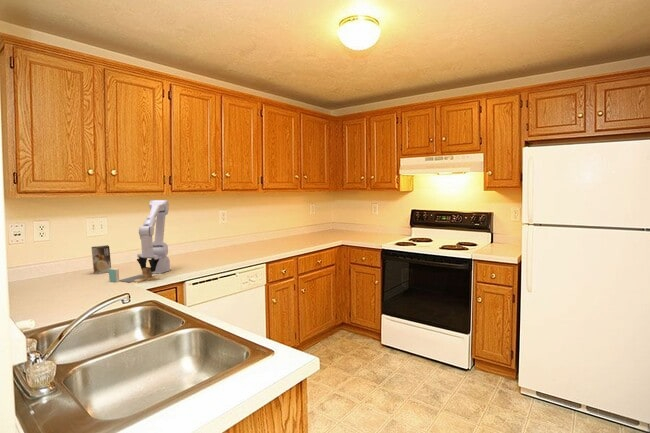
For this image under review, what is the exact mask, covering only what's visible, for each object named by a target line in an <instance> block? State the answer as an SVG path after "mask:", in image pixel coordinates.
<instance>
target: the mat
mask: <svg viewBox="0 0 650 433" xmlns="http://www.w3.org/2000/svg"><path fill="white" fill-rule="evenodd" d="M140 278H143V275H142V274H137V275H135V276H134V275H133V276H130V277H127V278H123V279H119V282H121V283H123V282H124V283H135V282H134V280H136V279H140Z"/></svg>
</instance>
